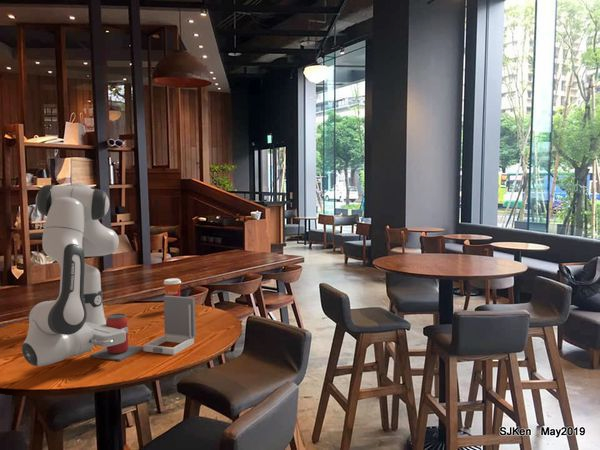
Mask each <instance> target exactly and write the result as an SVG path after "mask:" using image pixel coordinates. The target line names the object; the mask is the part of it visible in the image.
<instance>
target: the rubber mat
mask: <svg viewBox="0 0 600 450" xmlns="http://www.w3.org/2000/svg"><path fill="white" fill-rule="evenodd" d="M142 351H143V346H137V345H132V344H131V345H130V344H128V350H127V351H126V352H123V353H120V354H110V353H108V352H107V347H104V348H103V349H100V350H99V351H96V352H95V353H91V354H90V355H89V358H97V359H103V360H109V361H116V360H117V361H118V362H121V361H123V360H125V359H127V358H129V357H131V356H134V355H136V354H137V353H140V352H142Z"/></svg>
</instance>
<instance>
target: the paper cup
mask: <svg viewBox="0 0 600 450" xmlns="http://www.w3.org/2000/svg"><path fill="white" fill-rule="evenodd" d="M181 283H182V281H181V279H180V278H166V279H164V281H163V287H164V296H178V297H181Z"/></svg>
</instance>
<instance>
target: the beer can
mask: <svg viewBox="0 0 600 450" xmlns="http://www.w3.org/2000/svg"><path fill="white" fill-rule="evenodd" d="M106 326H107V327H111V328H116V329H121V328H122V327H128V319H127V317H126V314H125V313H113V314H110V315H107V317H106ZM128 334H129V332H128V333H126V341H125V342H123V343H120V344H117V345H113V346H109V347H106V348H107V352H108V353H110V354H120V353H123V352H126V351H127V350H128V345H129V335H128Z"/></svg>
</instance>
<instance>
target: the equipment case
mask: <svg viewBox="0 0 600 450" xmlns="http://www.w3.org/2000/svg"><path fill="white" fill-rule="evenodd" d="M195 300H196V298H195V297H190V296H189V297H187V296H180V297H178V296H165V295H163V315H164V335H162V336H159V337H158V338H155V339H153V340H151V341H149V342H147V343H145V344H143V346H142V347H143V350H142V351H143V352H148V353H149V352H150V353H156V354H163V355H164V354H165V355H172V356H175V355H176V354H179V353H180V352H182V351H183V350H186V349H188V348H189V347H190V346H192V345H194V344H195V339H196V338H197V333H196V332H197V330H196V329H197V327H196V301H195ZM166 342H169V343H177V345H175V346H174V347H171V346H162V345H161V344H164V343H166Z"/></svg>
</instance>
